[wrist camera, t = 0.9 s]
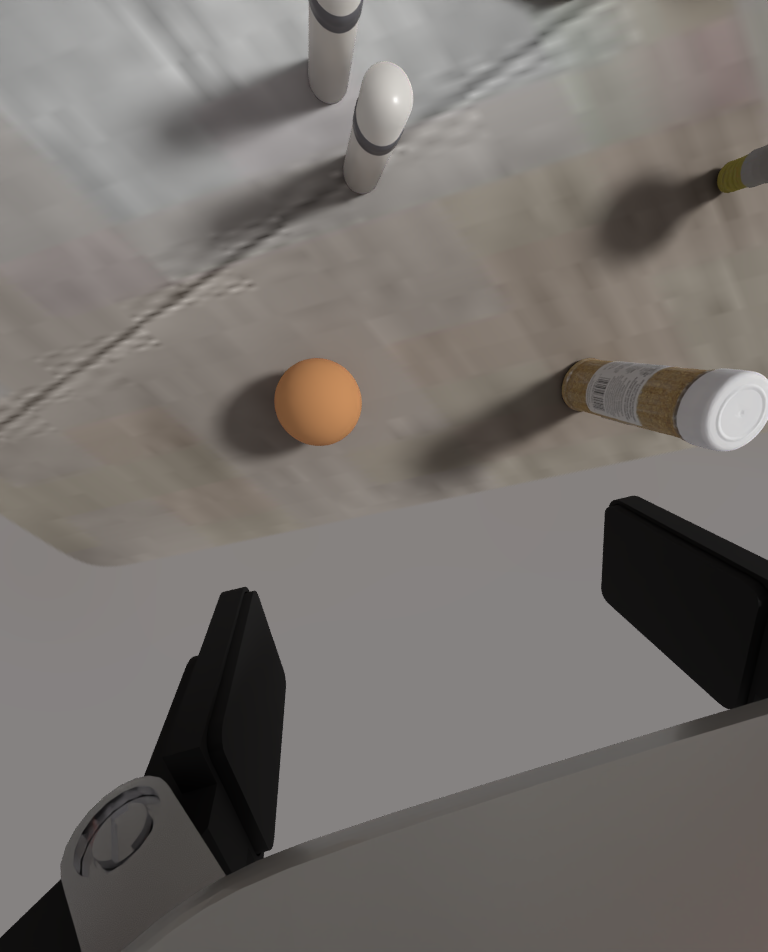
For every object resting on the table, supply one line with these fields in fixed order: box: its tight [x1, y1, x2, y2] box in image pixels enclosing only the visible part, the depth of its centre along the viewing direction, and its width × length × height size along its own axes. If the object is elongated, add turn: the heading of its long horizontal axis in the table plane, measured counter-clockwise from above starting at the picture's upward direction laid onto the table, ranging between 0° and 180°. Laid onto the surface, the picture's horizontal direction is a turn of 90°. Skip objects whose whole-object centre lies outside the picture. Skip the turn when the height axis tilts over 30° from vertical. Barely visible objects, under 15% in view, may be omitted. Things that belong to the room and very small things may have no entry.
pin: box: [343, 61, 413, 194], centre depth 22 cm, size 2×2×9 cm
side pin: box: [308, 0, 363, 104], centre depth 20 cm, size 2×2×9 cm
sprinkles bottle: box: [562, 358, 768, 451], centre depth 28 cm, size 5×5×13 cm
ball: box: [274, 358, 362, 446], centre depth 27 cm, size 6×6×6 cm
